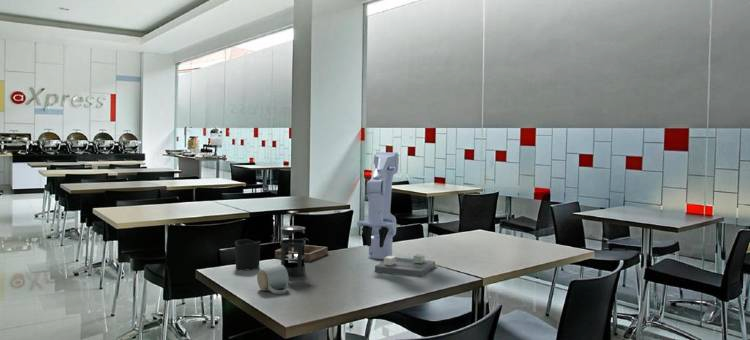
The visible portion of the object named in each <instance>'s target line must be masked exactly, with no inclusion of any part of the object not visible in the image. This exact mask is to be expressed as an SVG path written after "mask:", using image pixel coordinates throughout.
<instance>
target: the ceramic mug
mask: <svg viewBox="0 0 750 340" xmlns="http://www.w3.org/2000/svg"><path fill="white" fill-rule="evenodd" d="M256 279H257V285H258V287H259V289H260V291H263V292H268V291H269V292H271V293H272V294H275V295H283V294H286V293H287V291H288V286H289V285H288V284H289V279H290V277H288V273H287V270H286V268H285V267H284V266H283V265H281V264H278V265H273V266H269V267H265V268H262V269H260V270H259V271H258V273H257V277H256Z"/></svg>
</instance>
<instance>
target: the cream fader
mask: <svg viewBox="0 0 750 340" xmlns="http://www.w3.org/2000/svg"><path fill="white" fill-rule="evenodd" d="M396 257H397V256H387V257H385V258H384V259H383V262H384V265H393V264H395V263H396Z"/></svg>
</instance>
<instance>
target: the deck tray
mask: <svg viewBox="0 0 750 340" xmlns="http://www.w3.org/2000/svg"><path fill="white" fill-rule="evenodd" d="M293 253H294V254H297V247H293ZM289 254H292V247H289ZM328 254H329V251H328V246H318V245H309V244H305V246H304V256H305V257H304V262H312V261H314V260H317V259H320V258H322V257H324V256H327V255H328ZM274 258H275V259H281V248H278V249H276V250H274Z"/></svg>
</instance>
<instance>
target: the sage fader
mask: <svg viewBox="0 0 750 340" xmlns="http://www.w3.org/2000/svg"><path fill="white" fill-rule="evenodd" d="M412 259H413V263H422V262H424V260H426V258H425V254H422V253H421V254H420V253H416V254H415V255H413V258H412Z"/></svg>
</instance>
